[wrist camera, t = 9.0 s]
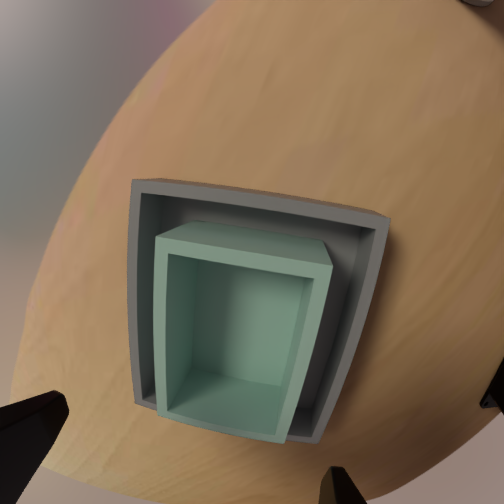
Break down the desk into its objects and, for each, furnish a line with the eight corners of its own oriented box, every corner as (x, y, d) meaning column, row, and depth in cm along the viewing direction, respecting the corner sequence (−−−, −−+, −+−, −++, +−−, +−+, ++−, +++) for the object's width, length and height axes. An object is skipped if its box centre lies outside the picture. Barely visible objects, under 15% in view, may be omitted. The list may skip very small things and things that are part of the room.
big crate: (372, 210, 16) (390, 218, 12) (317, 410, 19) (318, 443, 16) (160, 178, 17) (132, 179, 14) (154, 376, 20) (135, 403, 17)
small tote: (195, 219, 17) (155, 236, 12) (322, 239, 16) (333, 266, 11) (185, 367, 19) (157, 415, 14) (288, 388, 18) (283, 443, 13)
